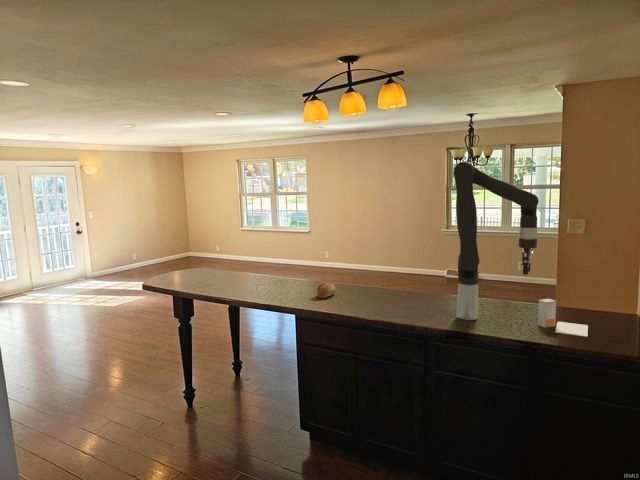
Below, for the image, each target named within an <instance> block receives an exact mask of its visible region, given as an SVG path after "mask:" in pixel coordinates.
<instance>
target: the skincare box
mask: <svg viewBox="0 0 640 480" xmlns="http://www.w3.org/2000/svg"><path fill="white" fill-rule="evenodd" d="M537 309H538V310H537V311H538V312H537V313H538V314H537V326H539V327H541V328H551V327H555V326H556V314H557V313H556V310H557V300H554V299H552V298H544V299H538V308H537Z"/></svg>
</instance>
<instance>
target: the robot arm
mask: <svg viewBox="0 0 640 480" xmlns="http://www.w3.org/2000/svg"><path fill="white" fill-rule="evenodd" d="M453 178H454V183H455V189H456V198H455V201H456V202H455V214H456V226H457V232H458V237H459V243H460V245H459V246H460V248H459V249H460V251H459V255H458V257H457V259H458V260H457V282H458V284H457V287H458V288H457V298H456V315H455V316H456V318H458V319H460V320H464V321H473V320H474V321H475V320H477V319H478V316H479V315H478V313H479V310H478V309H479V265H480V257H479V251H478V250H479V249H478V243H477V235H478V215H477V214H478V213H477V205H476V199H475V196H474V185H476V186H478V187H480V188H481V187H482V188H483V189H485V190H487V191H489V192H491V193H492V194H494V195H496V196H498V197H500V198H503V199H504V200H507V201H509V202H512V203H515V204H516V205H518V206H520V219H519V220H520V221H519V230H518V247H519V248H520V249H523V251H522V252H521V266H522V275H524V276H528V275H529V273H530V271H531V264H532V262H533V249H536V248H537V247H538V215H537V213H538V212H537V210H538V206H539V205H538V204H540V203H539V201H540V199H539V198H538V196H537V195H536V194H534V193H532V192H529V191H528V190H524V189H522V188H519V187H518V186H516V185H514V184H512V183H510V182H508V181H505V180H503V179H501V178H498V177H495V176H492V175H489V174H487V173H485V172H483V171H482V170H480V169H478V168H477V167H475V166H474V165H473V164H472V163H471V162H469V161H460V162H458V163H457V164H455V166H454V168H453Z"/></svg>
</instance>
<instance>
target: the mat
mask: <svg viewBox="0 0 640 480" xmlns="http://www.w3.org/2000/svg"><path fill="white" fill-rule="evenodd" d="M555 326H556V327H555V331H554V333H556V334H557V333H558V334H563V335H568V336H569V335H570V336H578V337H584V338H588V336H589V335H588V330H589V325H588V324H581V323H580V324H579V323H573V322H572V323H571V322H565V321H557V323H556V325H555Z"/></svg>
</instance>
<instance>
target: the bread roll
mask: <svg viewBox="0 0 640 480" xmlns="http://www.w3.org/2000/svg"><path fill="white" fill-rule="evenodd" d="M316 293H317V296H318V298H319V299H326V298H328V297H330V296H333V295H335V294H336V293H337V290H336V287H335V285H334V284H332V283H330V282H323V283H320V284H319V285H318V287H317V290H316Z"/></svg>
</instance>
